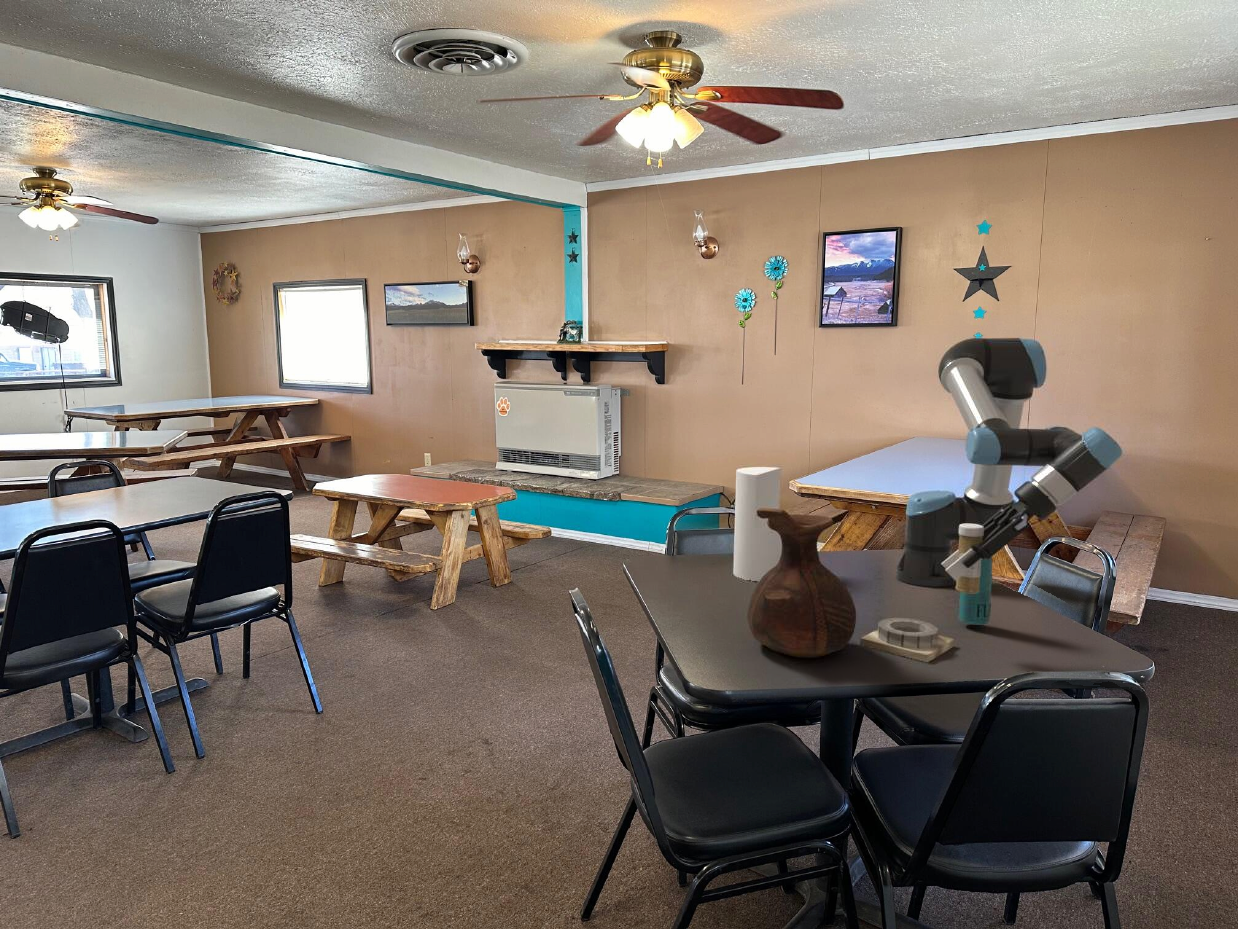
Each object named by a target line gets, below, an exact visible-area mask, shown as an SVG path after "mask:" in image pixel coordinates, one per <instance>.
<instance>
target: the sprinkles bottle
mask: <svg viewBox="0 0 1238 929" xmlns="http://www.w3.org/2000/svg"><path fill="white" fill-rule="evenodd" d="M983 535H984V527H983V526H982V525H978V524H969V523H965V524H960V525H959V542H958V549H957V550H958V559H959V558H960V557H961V556H963V555H964V554H965V553H966V552H967V551H969V550H970V549H971V546H972V545H975V547H976V546H977V545H978V544H979V543H980V542H982V538H983ZM958 559H957V560H958ZM980 573H981V560H980V561H979V562H978V563H977V564H976V565H974V566H973V567H972V568H971V569H969V570H968V571H967V572H966V573H965V574H963V575H962V576H961V577H960V578H958V579H957V581H956V584H955V590H956V592H959V593H960V592H962V593H967V594H976V593H978V592H979V591H980V589H979V583H980Z"/></svg>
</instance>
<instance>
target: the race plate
mask: <svg viewBox="0 0 1238 929" xmlns="http://www.w3.org/2000/svg"><path fill="white" fill-rule="evenodd" d="M939 632H940V631H939V630H938V627H937V626H936V625H933V624H932V623H930V622H927V621H924V620H919V619H915V618H914V619H913V618H906V617H905V618H904V617H891V618H884V619H882V620H880V621H878V622H877V629H876V630H873V631H872V632H870V633H868V634H865V635H863V636H862V637H860V639H859V645H860V646H861V645H864V646H863V647H865V646H867V647H866V648H869V647H872V648H871V649H873V648H876V649H875V650H877V649H878V651H880V650H882V651H881V652H884V651H887V652H886V653H888V652H889V654H892V653H894V654H893V655H896V656H899V655H900V657H903V656H905V657H904V658H907V657H908V659H911V658H912V660H915V659H916V660H915V661H918V660H919V662H922V661H923V663H926V662H927V663H929V662H931V661H932V660H934V659H935V658H937V657H939V656H940V655H942V654H944V653H945V652H947V651H949V650H951V649H952V648H953V647H955V638H951V637H947V636H942V635H939Z"/></svg>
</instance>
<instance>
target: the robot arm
mask: <svg viewBox="0 0 1238 929" xmlns="http://www.w3.org/2000/svg"><path fill="white" fill-rule="evenodd" d="M937 370H938V371H937V372H938V379H939V382H940V383H941V386H942V387H943V389H944V390H945V391H946V392H947V393H949V394H951V396H952V398H953V401H954V403H955V405H956V407H957V408H958V411H959V413H960V415H961V417H962V418H963V421H964V423H965V425H966V427H967V428H968V433H967V435H966V440H965V452H966V458H967V460H968V461H969V463H971V464H974V471H973V477H972V483H971V484H969V485H968V486H967V487H966V488H965V489H964V491H963V493H964V494H963V496H962V497H960V496H959V497H957V496H956V495H955V494H956V493H955V492H953V491H949V490H928V491H921V492H916V493H914V494H912V495H910V496H909V498H908V499H907V503H906V504H907V505H906V510H905V516H906V517H905V518H906V519H905V530H904V531H905V532H904V533H905V534H904V537H905V538H904V549H903V552H902V554H901V557H900V559H899V562H898V564H897V566H896V572H895V573H896V574H895V577H896V579H898V580H899V581H901V582H904V583H906V584H911V585H916V586H923V587H933V588H935V587H937V588H938V587H939V588H940V587H942V588H943V587H950V586H954V585H956V581H957V579H958V578H960V577H961V576H962V575H963V574H965V573H966V572H967V571H968V570H969V569H971V568H972V567H973V566H974V565H976V564H977V563H978V562H979V561H980V560H982V559H984V558H986V559H989V558H991V557H992V558H993V556H994V555H995V554H997V553H998V552H1000V551H1001V550H1002V549H1003V548H1004V547H1006V546H1007V545H1008V544H1009V543H1010V542H1012V541H1013V540H1015V538H1017V537H1018V536H1020V534H1022V533H1024V532H1026V530H1027V531H1028V530H1029V529H1030V525H1029V522H1030V520H1031V519H1032V518H1033V517H1034V516H1035V517H1036V518H1037V519H1038V520H1040V521H1044V520H1046V519H1047V518H1048V517H1049V516H1051V515H1052V514H1053V513H1055V512H1056V511H1057V506H1063V505H1064V504H1065V503H1067V502H1068V501H1073V500H1074V497H1073V496H1074V495H1076V494H1077V493H1079V492H1080V491H1081V490H1083V488H1085V487H1086V486H1088V485H1089V484H1090V483H1091V482H1093V481H1094V480H1095V479H1096V478H1098V477H1099V476H1100V475H1102V474H1103V473H1104V472H1105V471H1107V470H1108V469H1110V468H1111V467H1112V465H1113V464H1114V463H1116V461H1118V460H1119V459H1120V458H1121V457H1122V455H1123V449H1122V447H1121V446H1120V444H1118V442H1117V440H1115V439H1114V438H1113V437H1112V436H1111V435H1110V434H1109V433H1107V432H1106V431H1105V430H1103V429H1101V428H1100V427H1097V426H1093V427H1091V428H1089V429H1087V430H1086V431H1085V432H1084V431H1083V432H1082V433H1081V434H1080V433H1078V432H1076V431H1075V430H1073V429H1070V428H1068V427H1065V426H1061V425H1053V426H1051V425H1050V426H1049V427H1047V428H1046V427H1045V428H1021V421H1022V415H1023V410H1024V404H1025V402H1027V401H1029V400H1030V399H1031V398H1032V397H1033V394H1034V393H1033V392H1034V389H1038V388H1041V387H1043V385H1044V383H1045V382H1046V379H1047V370H1048V369H1047V358H1046V355H1045V350H1044V348H1043V346H1042V345H1041V343H1040V342H1039V341H1037V340H1036V339H1032V338H1021V337H1000V338H999V337H998V338H997V337H995V338H993V337H992V338H990V337H989V338H986V337H985V338H984V337H983V338H981V337H971V338H966V339H963V340H961V341H959V342H957V343H955V344H954V345H952V346H951V347H950V348H948V350H947V351H946V352H945V353H944V354H943V356H942V357H941V359H940V362H939V365H938V369H937ZM1013 466H1022V467H1041V468H1040V469H1038V471H1036V472H1035V473H1034V474H1033V475H1032V476H1031V477H1030V480H1031V481H1029V480H1028V481H1027V480H1026V481H1025V482H1023V483H1022V484H1021V485H1020V486H1019V487H1018V488H1016V489H1015V490H1014V493H1012V492H1011V491H1010V489H1009V488H1010V482H1011V476H1012V472H1013V471H1012V470H1013ZM1013 494H1014V495H1013ZM1014 496H1015V497H1016V499H1018V501H1016V500H1015V499H1014ZM965 523H969V524H978V525H982V526H983V527H984V535H983V538H982V542H980V543H979V544H978V545H977V546H976V547H975V545H972V546H971V549H970V550H969V551H967V552H966V553H965V554H964V555H963V556H961V557H960V558H959V559H958V549H957V550H956V551H954V552H952V551H953V550H952V547H953V546H952V545H953V542H954V543H955V542H957V543H959V525H960V524H965ZM981 558H982V559H981ZM957 559H958V560H957Z"/></svg>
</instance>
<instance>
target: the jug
mask: <svg viewBox="0 0 1238 929" xmlns="http://www.w3.org/2000/svg"><path fill="white" fill-rule="evenodd" d="M757 516H758V517H760V518H762V519H765V518H768V521H767V525H768V527H769V528H770V529H772V530H774V531H776V532H778V533H779V535H780V537H781V541H782V551H781V557H780V560H779V562H778V564H777V565H776V566H775V567H773V568H772V569H770V570H769V571H768V572H767V573H766V574H765V575H764V576H763V577H762V578H761V580H760V581H759V582H757V584H756V587H755V588H754V590H753V593H752V594H751V597H750V601H749V604H748V609H747V624H748V627H749V630H750V633H751V635H752V636H753V638H754V639H755V640H756V641H757V642H759V643H761V644H762V645H763V646H765V647H767V648H769V649H770V650H771V651H774V652H776V653H779V654H782V655H783V654H784V655H786V656H787V655H788V656H792V657H794V658H803V659H804V658H806V659H807V658H809V659H810V658H811V659H813V658H821V657H823V656H826V655H829V654H831V653H835V652H837V651H840V650H842V649H843V648H844V647H845V646H846V645H847V644H848V643H849V642H850V641H851V640H852V637H853V635H854V634H855V629H856V625H857V624H856V622H857V610H856V606H855V602H854V600H853V597H852V595H851V594H850V591H849V589H848V588H847V587H846V585H845V584H844V583H843V581H842V580H841V579H840V578H839V576H837V575H836V574H835V573H834V572H832V571H831V570H830V569H829V568H828V567H826V566H825V565H823V563H822V562H821V559H820V556H819V550H818V541H819V537H820V536H821V534H822V533H823V532H824V531H825V530H827V529H829V528H830V527H832V526H833V525H834V521H833V519H832V518H831V517H828V516H824V515H816V514H815V515H814V514H800V513H797V514H795V513H793V514H792V513H791V514H790V513H788V512H787V511H786V510H784V509H781V508H779V509H770V508H760V509H758V510H757Z"/></svg>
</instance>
